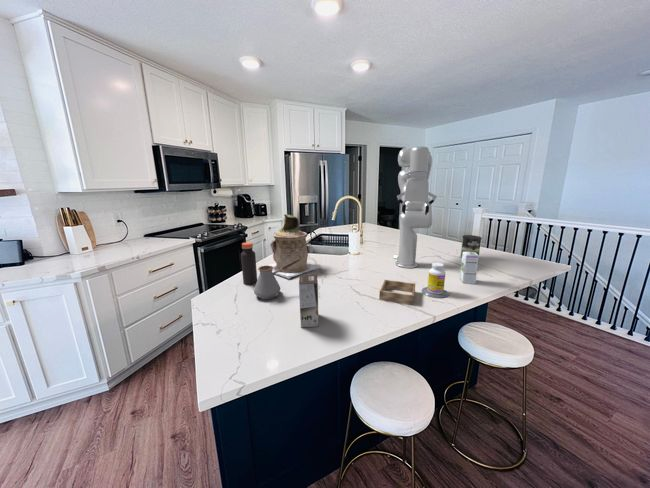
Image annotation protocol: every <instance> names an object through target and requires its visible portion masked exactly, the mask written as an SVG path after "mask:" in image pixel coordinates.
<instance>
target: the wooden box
mask: <svg viewBox="0 0 650 488" xmlns="http://www.w3.org/2000/svg"><path fill="white" fill-rule="evenodd" d="M382 283H383V284H382V285H381V288H380V289H379V297H378V300H379V301H386V302H391V303H395V304H396V303H398V304H403V305H404V304H405V305H409V306H413V305H414V301H415V300H414V299H415V295H416V294H415V293H416V283H414V282H405V281H398V280H392V279H390V280H389V279H384V281H383V282H382ZM387 289H389V290H394V291H395V290H396V291H401V292H408V293H409V292H410V293H411V294H407V293H401V292H394V291H389V290H388V291H387Z"/></svg>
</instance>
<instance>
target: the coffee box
mask: <svg viewBox="0 0 650 488" xmlns="http://www.w3.org/2000/svg"><path fill="white" fill-rule="evenodd" d="M298 286H299V287H298V288H299V291H298V292H299V294H298V295H299V313H300V316H299V317H300V328H310V327H311V328H312V327H313V328H314V327H316V328H317V327H318V326H319V283H318V276H317V274H316V273H312V274H311V273H310V274H309V273H307V274H300V275H299V278H298Z"/></svg>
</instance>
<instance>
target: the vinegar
mask: <svg viewBox="0 0 650 488" xmlns="http://www.w3.org/2000/svg"><path fill="white" fill-rule="evenodd" d="M253 246H254V245H253V242H250V241H247V242H242V243H241V249H242V252H241V253H240V262H241V269H242V271H241V272H242V281H243V284H245V285H246V286H248V285H249V286H251V285H256V283H257V280H258V274H257V273H258V268H257V259H256V252H255V251H254V250H253Z"/></svg>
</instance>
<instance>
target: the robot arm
mask: <svg viewBox="0 0 650 488" xmlns="http://www.w3.org/2000/svg"><path fill="white" fill-rule="evenodd" d="M397 162H398V166H399V167H403V168H407V169H402V170H400V171H399V173H398V176H397V182H398V187H399V190H400V192H401V193H400V194H398V195H396V198H397V200H398V203H400V205H401V208H402V209H401V212H400V214H399V218H398V221H399V244H398V246H399V247H398V255H397V254H394V255H393V260H396V261H395V266H398V267H400V268H403V269H414V268H417V267H418V266H419V263H418V262H417V261H416V257H417V243H418V235H417V233H416V231H415V230H414V229H429V228H431V227H432V225H433V209H432V205H433V204H434V202H435V200H436V199H437V195H436V194H433V193H432V192H430V190H429V186H430V185H429V179H430V176H431V175H430V174H431V172H432V167H433V158H432V154H431V151H430V149H429V148H428V146H415V147H411V148H402V149H401V150H400V151H399V153H398V155H397ZM429 197H431V198H429Z"/></svg>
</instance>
